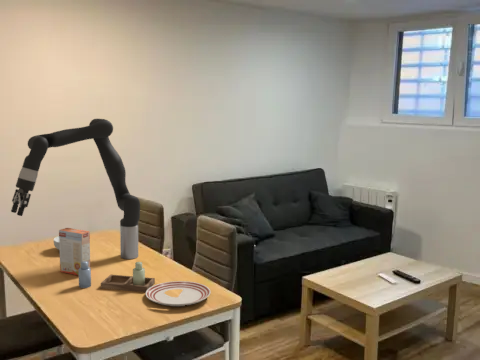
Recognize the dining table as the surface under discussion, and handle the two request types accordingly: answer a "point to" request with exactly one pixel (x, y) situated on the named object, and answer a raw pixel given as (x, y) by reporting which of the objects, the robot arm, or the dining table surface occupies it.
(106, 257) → the dining table surface
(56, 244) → the cereal bowl
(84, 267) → the blue bottle
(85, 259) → the cracker box
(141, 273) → the green bottle
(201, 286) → the dinner plate
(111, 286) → the caddy
